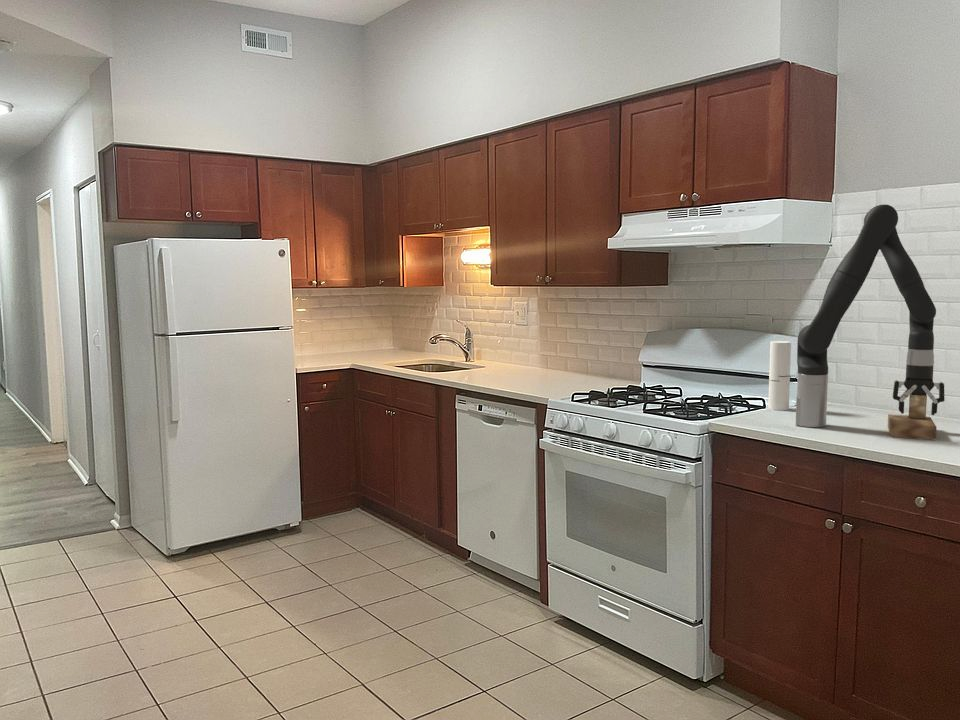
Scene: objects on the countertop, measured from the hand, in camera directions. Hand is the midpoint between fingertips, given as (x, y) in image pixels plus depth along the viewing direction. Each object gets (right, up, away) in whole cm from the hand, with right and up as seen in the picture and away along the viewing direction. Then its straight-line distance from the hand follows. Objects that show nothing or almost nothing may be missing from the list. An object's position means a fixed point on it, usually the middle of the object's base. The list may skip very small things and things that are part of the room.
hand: (917, 414), depth 250 cm
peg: (0, -5, 0) cm, 5 cm away
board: (-4, -6, -3) cm, 8 cm away
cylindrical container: (-28, -1, +43) cm, 51 cm away
